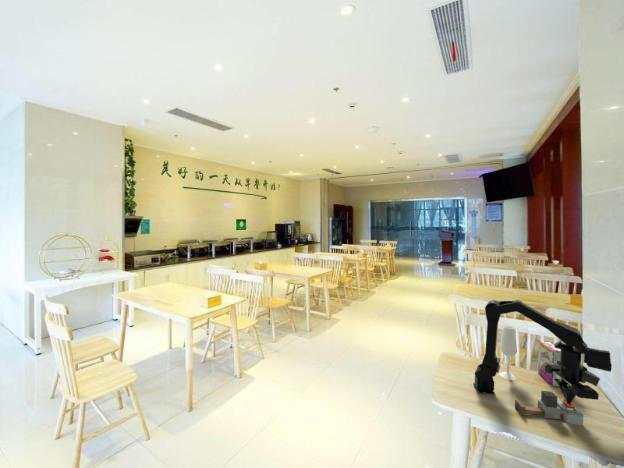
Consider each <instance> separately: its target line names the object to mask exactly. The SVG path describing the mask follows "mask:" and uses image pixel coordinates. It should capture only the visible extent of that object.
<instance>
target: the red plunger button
mask: <svg viewBox="0 0 624 468" xmlns="http://www.w3.org/2000/svg"><path fill="white" fill-rule="evenodd" d="M562 404H563V405H564V408H565V409H566V410H572V411H573V408H576V403H575V402H574V401H572V402H571V403H567V402H566V400H565V399H562Z"/></svg>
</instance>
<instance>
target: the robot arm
mask: <svg viewBox="0 0 624 468" xmlns="http://www.w3.org/2000/svg"><path fill="white" fill-rule="evenodd" d="M484 309H485V310H484V312H485V317H486V322H487V325H486V327H487V328H486V340H485V352H484V356H483V359H482V362H481V363H480V364H478V365H477V367H476V370H475V371H474V383H472V385H473V387H474V388H475V390H476V392H478V393H479V394H480V393H481V394H491V395H495V381H494V377H496V376H497V374H499V372H500V369H501V365H500V362H501V358H500V357H497V345H498V344H497V342H498V332H499V331H498V330H499V328H498V327H499V322H500V318H501V316H502V315H505V314H510V313H519V314H521V315H523V316H524V317H525V318H527V319H529V320H531V321H532V322H535V323H536V324H537V325H540V326H541V327H543V328H545V329H546V330H547V331H549V332H551V333H552V334H553V335H554V336H555V337H556V338H558V339H559V341H557V342H554V343H553V344H554V347H555V348H558V349H561V352H560V361H557V364H559V365H551V364H548V365H546V366H545V371H546V372H548V373H549V374H552V372H556V373H557V374H556V375H557V379H555V381H556V382H557V384H558V386H559V387H558V388H559V390H560V391H561V394H562V396H563V398H564V400H566V402H567V403H571V402H574V399H575V398H576V397H577V398H579V399H587V400H597V401H599V392H598V391H596V390H595V389H594V388H592V387H591V386H589V385H588V384H586V383H589V384H591V385H593V386H594V387H597V386H598V384H599V382H600V380H601V378H600V377H599V376H597V375H596V374H594V373H592V372H590V371H589V370H588V368H587V367H589V368H592V369H597V370H601V371H604V372H605V371H606V372H609V373H611V371H612V361H611V353H610V351H609V350H604V349H602V350H601V349H596V348H592V347H588V344H587V343H586V342H585V341H584V340H583V339H584V338H583V336H582V334H581V332H580V330H579V329H577V328H576V327H573V326H570V325H569V324H566V323H562V322H560V321H556V320H554V319H552V318H550V317H549V316H547V315H545V314H544V313H541V312H540V311H538V310H536V309H535V308H533V307H531V306H529V305H527V303H524V302H522V300H519V299H516V300H515V299H514V300H495V299H491V300H489V301H488V302H487V304H486V305H485V306H484ZM582 356H583V357H582ZM582 358H583V363H584V364H586V366H587V367H586V366H584V365H582Z"/></svg>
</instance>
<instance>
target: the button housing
mask: <svg viewBox="0 0 624 468" xmlns="http://www.w3.org/2000/svg"><path fill="white" fill-rule="evenodd" d="M557 406H558V407H559V408H560V411H561V412H562V413H563V419H562V420H563V421H564V422H565V423H566V424H569V425H579V426H584V416H585V415H584V414H583V412H581V411H580V410H579V409H578V408H576V407H575V408H573V411H572V410H566V409H565V408H564V405H563V404H562V401H560V400H557Z"/></svg>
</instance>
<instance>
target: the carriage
mask: <svg viewBox="0 0 624 468" xmlns="http://www.w3.org/2000/svg"><path fill="white" fill-rule="evenodd" d="M540 393H541V396H540V397H541V398H540V399H537V407H540V408H541V409H542V410H543V411H544V417H543V418H545V419H552V420H561V419H560V408H559V407H558V406H557V401H558V396H557V395H556V394H555V393H554V392H552V391H551V390H541V392H540Z"/></svg>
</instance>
